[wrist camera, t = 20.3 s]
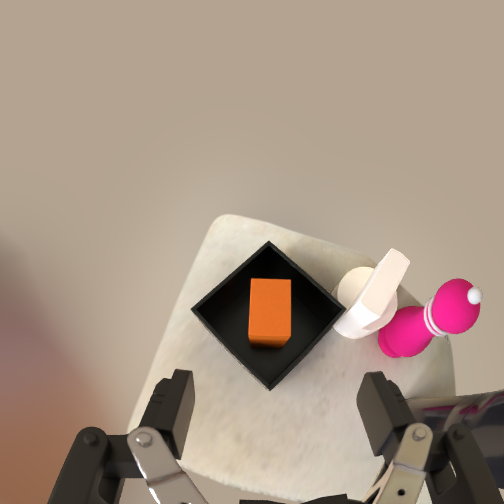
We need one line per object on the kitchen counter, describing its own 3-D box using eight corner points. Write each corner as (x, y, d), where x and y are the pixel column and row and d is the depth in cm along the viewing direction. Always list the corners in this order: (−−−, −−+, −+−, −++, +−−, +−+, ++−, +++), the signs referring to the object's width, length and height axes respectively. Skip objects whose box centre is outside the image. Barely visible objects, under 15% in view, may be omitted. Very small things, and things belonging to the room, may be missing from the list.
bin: (329, 325, 39) (347, 308, 31) (266, 389, 35) (270, 391, 27) (266, 268, 43) (268, 240, 35) (203, 325, 39) (190, 309, 31)
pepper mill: (394, 307, 39) (471, 246, 22) (420, 339, 37) (507, 295, 19) (366, 336, 37) (444, 288, 20) (393, 370, 35) (484, 343, 17)
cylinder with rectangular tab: (346, 271, 42) (373, 232, 32) (389, 304, 40) (428, 274, 29) (314, 315, 39) (336, 286, 29) (361, 350, 37) (399, 334, 26)
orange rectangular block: (282, 305, 40) (290, 279, 31) (282, 348, 37) (290, 336, 28) (252, 304, 40) (251, 278, 31) (250, 347, 37) (248, 335, 28)
